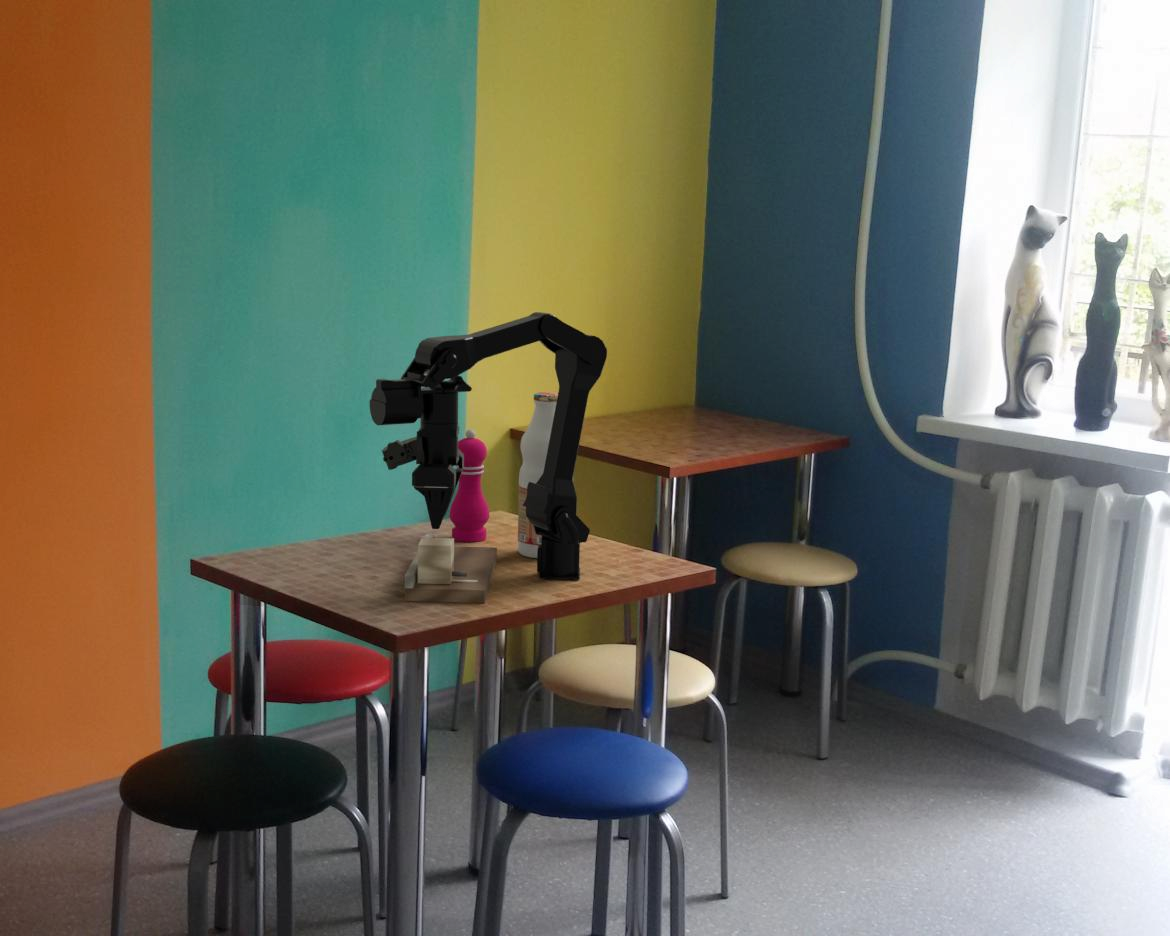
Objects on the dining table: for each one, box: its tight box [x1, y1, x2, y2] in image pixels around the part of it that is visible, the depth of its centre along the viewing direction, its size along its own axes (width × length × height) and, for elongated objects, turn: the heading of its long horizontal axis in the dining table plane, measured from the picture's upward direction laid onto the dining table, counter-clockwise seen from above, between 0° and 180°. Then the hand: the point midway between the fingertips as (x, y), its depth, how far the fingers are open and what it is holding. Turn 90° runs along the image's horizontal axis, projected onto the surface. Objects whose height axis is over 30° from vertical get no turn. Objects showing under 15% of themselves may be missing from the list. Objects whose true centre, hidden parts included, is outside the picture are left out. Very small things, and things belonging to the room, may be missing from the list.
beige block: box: [417, 537, 467, 584], centre depth 212 cm, size 7×5×6 cm
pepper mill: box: [448, 428, 490, 543], centre depth 249 cm, size 7×7×20 cm
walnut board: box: [404, 533, 498, 604], centre depth 221 cm, size 12×28×4 cm, turn 0°
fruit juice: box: [517, 391, 558, 559], centre depth 238 cm, size 9×9×28 cm
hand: (438, 522), depth 212 cm, fingers open, 9 cm apart
